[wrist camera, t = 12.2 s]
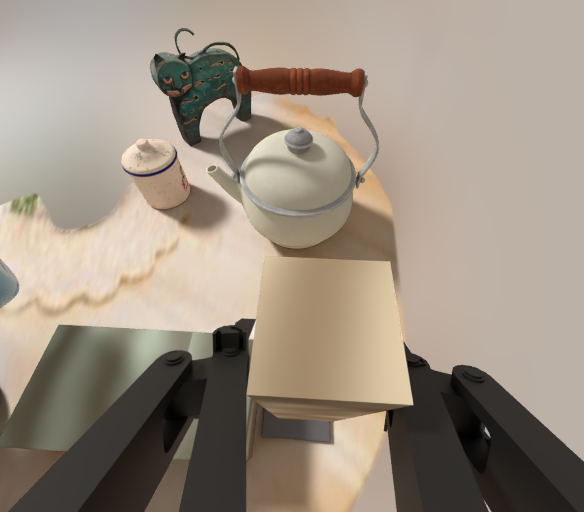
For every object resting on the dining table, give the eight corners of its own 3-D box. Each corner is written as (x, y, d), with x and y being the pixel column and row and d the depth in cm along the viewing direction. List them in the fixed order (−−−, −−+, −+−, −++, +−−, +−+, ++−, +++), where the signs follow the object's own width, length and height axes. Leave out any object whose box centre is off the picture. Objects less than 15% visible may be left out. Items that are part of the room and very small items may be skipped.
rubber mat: (262, 436, 32) (261, 436, 32) (268, 365, 37) (268, 365, 36) (329, 441, 32) (329, 441, 32) (328, 369, 36) (328, 368, 36)
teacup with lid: (200, 196, 54) (179, 144, 44) (156, 218, 51) (123, 168, 41) (173, 164, 59) (150, 111, 49) (132, 182, 56) (98, 130, 46)
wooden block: (278, 418, 20) (246, 394, 7) (282, 361, 22) (264, 256, 9) (332, 421, 20) (413, 405, 6) (331, 364, 22) (390, 261, 9)
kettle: (352, 185, 55) (389, 35, 34) (360, 263, 45) (418, 120, 24) (229, 181, 56) (192, 31, 35) (211, 257, 46) (143, 112, 25)
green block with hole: (49, 443, 32) (-5, 446, 26) (94, 340, 39) (58, 324, 33) (251, 456, 31) (242, 463, 26) (263, 350, 38) (257, 335, 32)
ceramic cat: (185, 152, 61) (145, 45, 44) (172, 138, 64) (129, 33, 47) (257, 119, 68) (246, 16, 51) (243, 108, 70) (227, 6, 53)
